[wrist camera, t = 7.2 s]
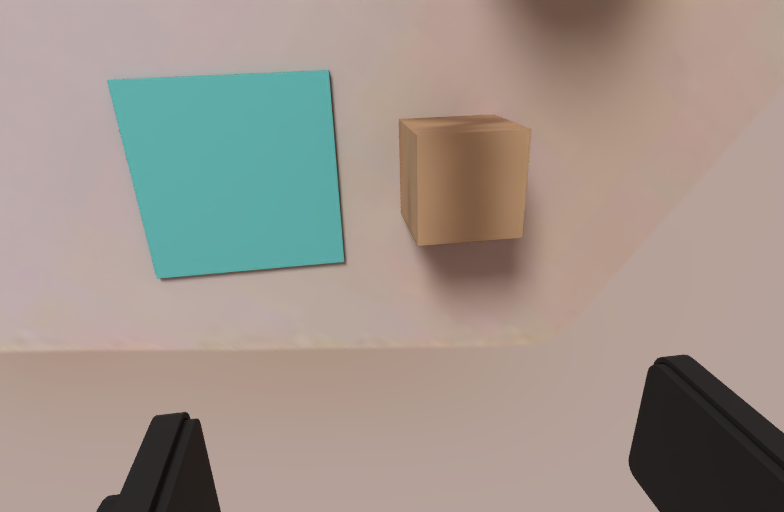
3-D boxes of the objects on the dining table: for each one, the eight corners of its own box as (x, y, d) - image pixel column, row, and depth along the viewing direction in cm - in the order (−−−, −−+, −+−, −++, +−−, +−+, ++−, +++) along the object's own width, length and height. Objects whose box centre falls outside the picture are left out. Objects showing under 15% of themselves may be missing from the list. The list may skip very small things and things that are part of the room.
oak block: (493, 114, 31) (531, 129, 25) (488, 205, 33) (522, 237, 28) (398, 119, 30) (416, 135, 25) (400, 212, 33) (417, 246, 27)
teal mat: (328, 70, 28) (328, 70, 28) (344, 260, 33) (344, 261, 33) (109, 80, 27) (106, 80, 27) (158, 276, 32) (157, 278, 32)
